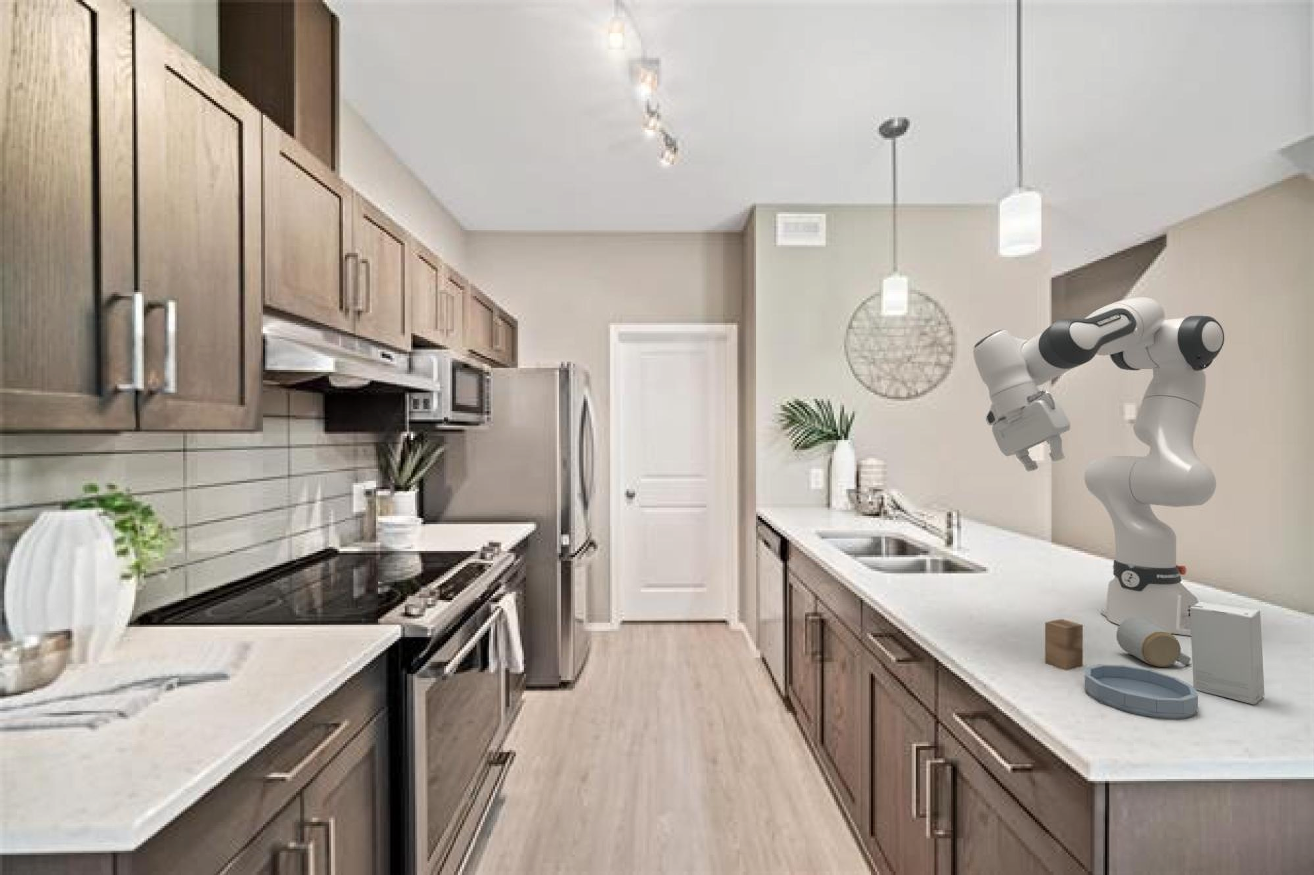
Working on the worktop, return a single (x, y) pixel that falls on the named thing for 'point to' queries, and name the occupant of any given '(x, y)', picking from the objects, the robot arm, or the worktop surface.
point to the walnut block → (1064, 644)
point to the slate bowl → (1141, 691)
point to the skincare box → (1227, 651)
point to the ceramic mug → (1149, 642)
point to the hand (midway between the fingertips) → (1045, 465)
